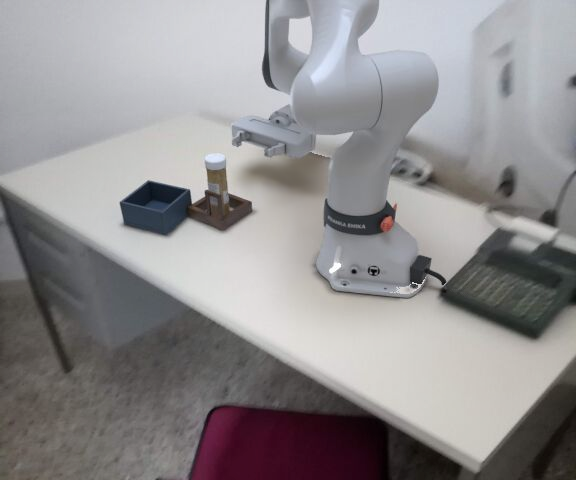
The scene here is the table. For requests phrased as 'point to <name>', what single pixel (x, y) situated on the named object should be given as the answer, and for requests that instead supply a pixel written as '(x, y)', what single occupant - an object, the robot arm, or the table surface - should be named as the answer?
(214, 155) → the sprinkles bottle
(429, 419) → the table surface
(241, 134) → the robot arm
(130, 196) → the open box
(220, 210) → the rack
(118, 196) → the table surface
